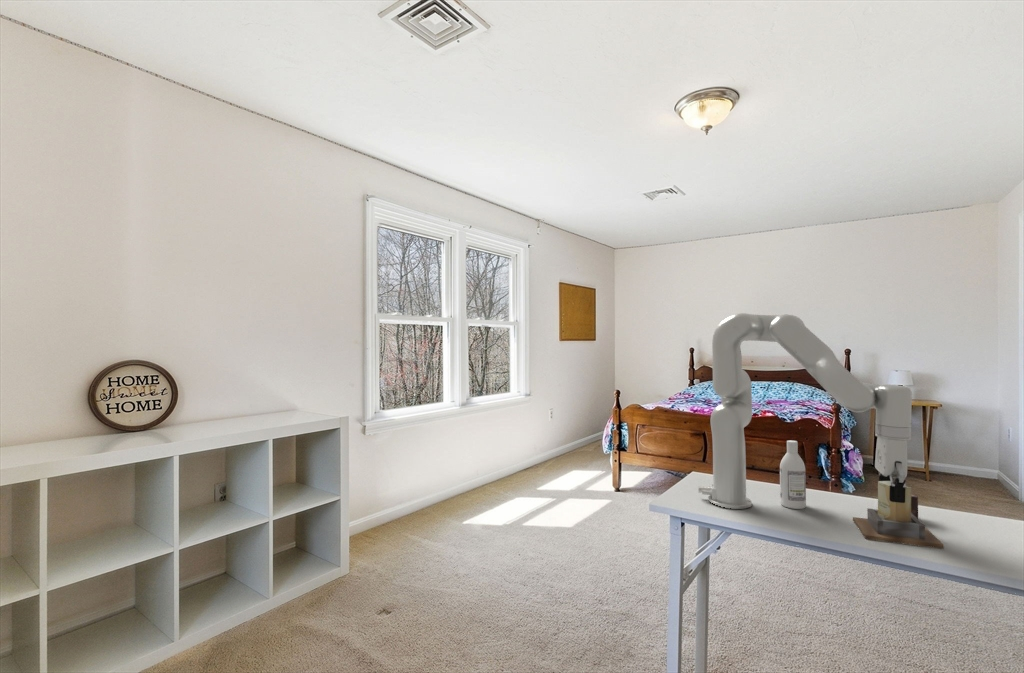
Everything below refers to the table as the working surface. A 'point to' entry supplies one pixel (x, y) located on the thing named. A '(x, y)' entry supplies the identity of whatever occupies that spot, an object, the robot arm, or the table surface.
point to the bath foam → (792, 478)
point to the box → (914, 505)
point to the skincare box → (893, 504)
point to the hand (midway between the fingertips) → (891, 496)
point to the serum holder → (896, 530)
